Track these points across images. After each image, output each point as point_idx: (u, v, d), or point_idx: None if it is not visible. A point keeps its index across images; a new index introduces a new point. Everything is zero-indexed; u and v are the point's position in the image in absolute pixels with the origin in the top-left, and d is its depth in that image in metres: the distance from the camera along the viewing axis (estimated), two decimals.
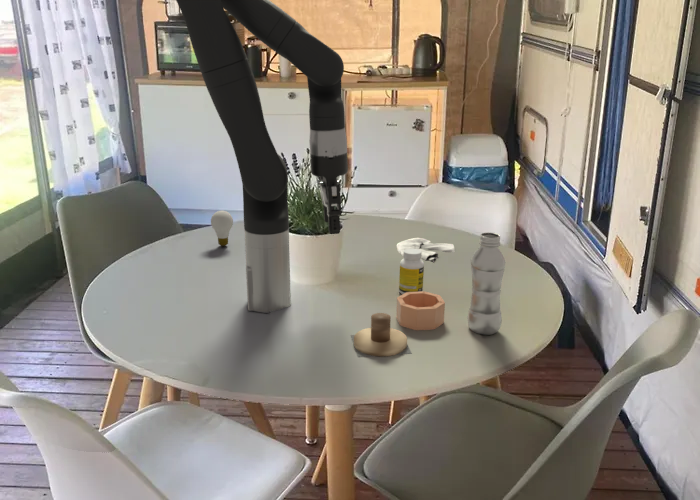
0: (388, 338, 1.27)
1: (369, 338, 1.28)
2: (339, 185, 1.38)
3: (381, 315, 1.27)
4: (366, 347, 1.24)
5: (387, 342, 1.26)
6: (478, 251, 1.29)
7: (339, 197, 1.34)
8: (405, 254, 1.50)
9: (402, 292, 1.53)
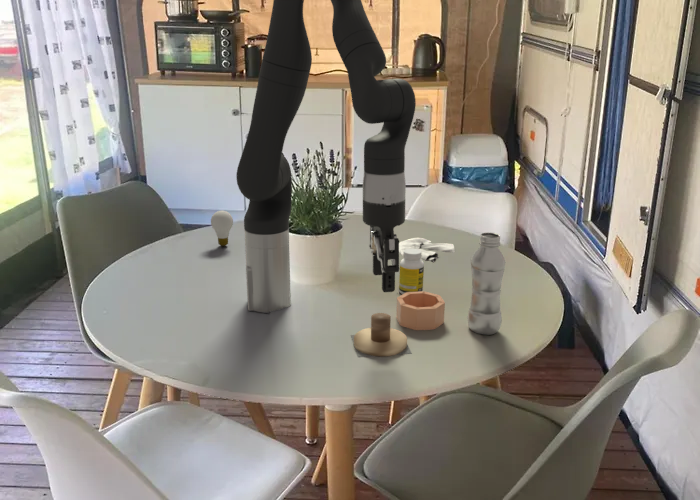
0: (388, 338, 1.27)
1: (369, 338, 1.28)
2: (395, 236, 1.20)
3: (381, 315, 1.27)
4: (366, 347, 1.24)
5: (387, 342, 1.26)
6: (478, 251, 1.29)
7: (397, 252, 1.15)
8: (405, 254, 1.50)
9: (402, 292, 1.53)
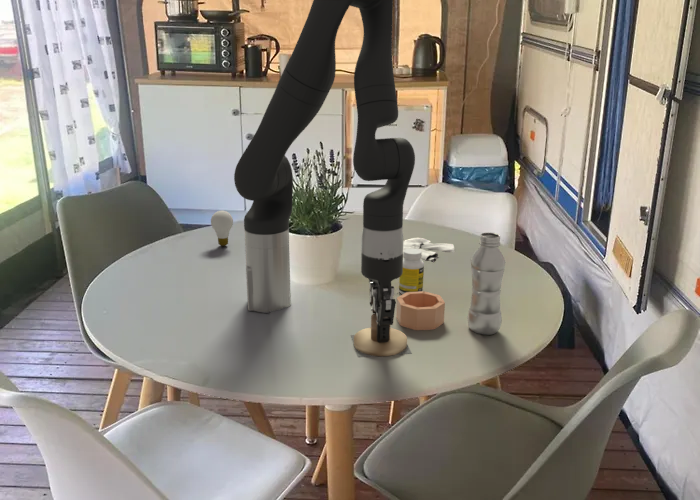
0: None
1: (369, 338, 1.28)
2: (392, 290, 1.23)
3: None
4: (366, 347, 1.24)
5: (387, 342, 1.26)
6: (478, 251, 1.29)
7: (393, 311, 1.20)
8: (405, 254, 1.50)
9: (402, 292, 1.53)
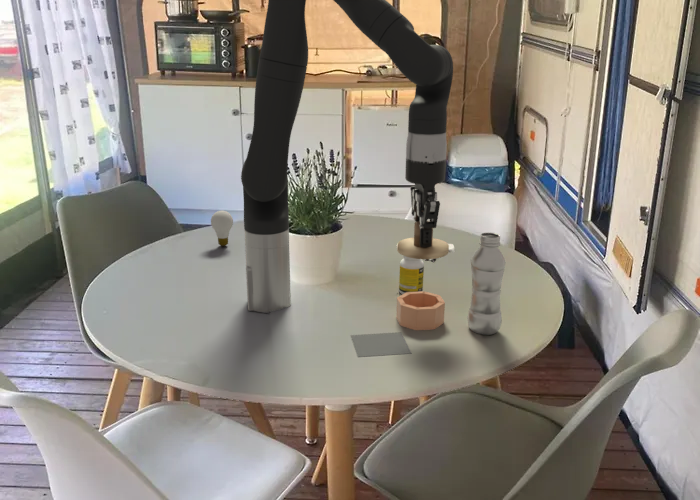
0: (431, 244, 1.32)
1: (412, 245, 1.33)
2: (435, 195, 1.28)
3: None
4: (410, 251, 1.30)
5: (430, 247, 1.31)
6: (478, 251, 1.29)
7: (437, 213, 1.25)
8: None
9: (402, 292, 1.53)
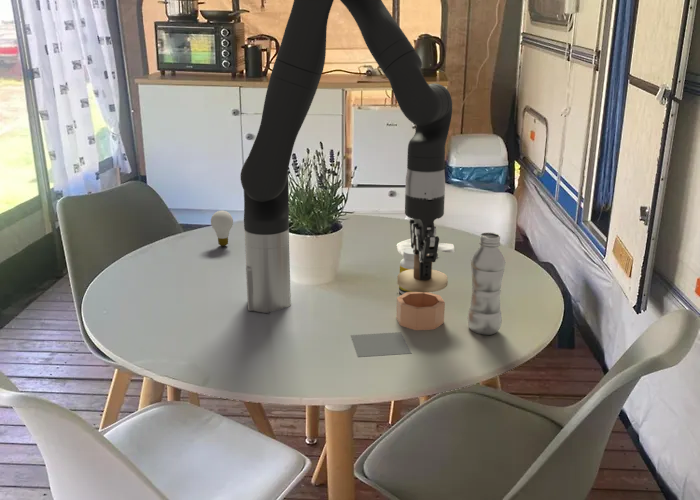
0: None
1: (412, 277, 1.36)
2: (434, 229, 1.31)
3: None
4: (410, 284, 1.32)
5: (429, 280, 1.34)
6: (478, 251, 1.29)
7: (436, 248, 1.28)
8: (405, 254, 1.50)
9: (402, 292, 1.53)
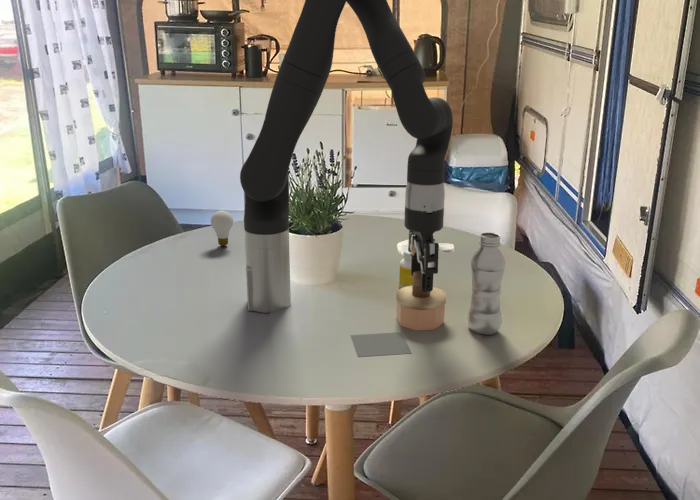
0: (429, 294, 1.36)
1: (410, 294, 1.37)
2: (434, 240, 1.31)
3: None
4: (409, 301, 1.33)
5: (428, 297, 1.35)
6: (478, 251, 1.29)
7: (437, 255, 1.27)
8: (405, 254, 1.50)
9: None
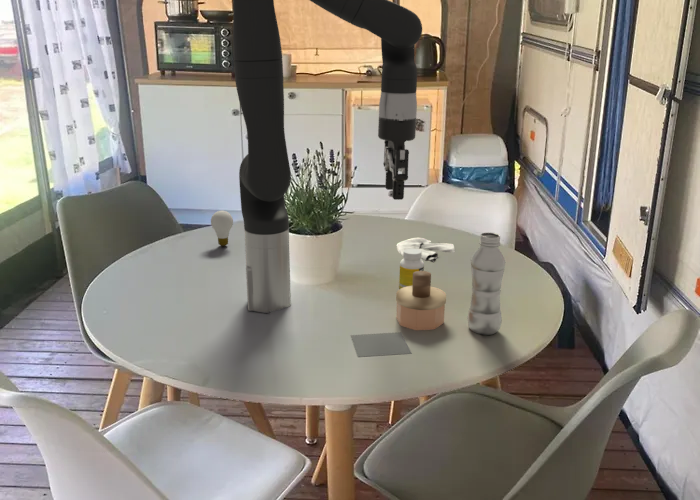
0: (429, 294, 1.36)
1: (410, 294, 1.37)
2: None
3: (422, 273, 1.36)
4: (409, 301, 1.33)
5: (428, 297, 1.35)
6: (478, 251, 1.29)
7: (407, 161, 1.32)
8: (405, 254, 1.50)
9: None
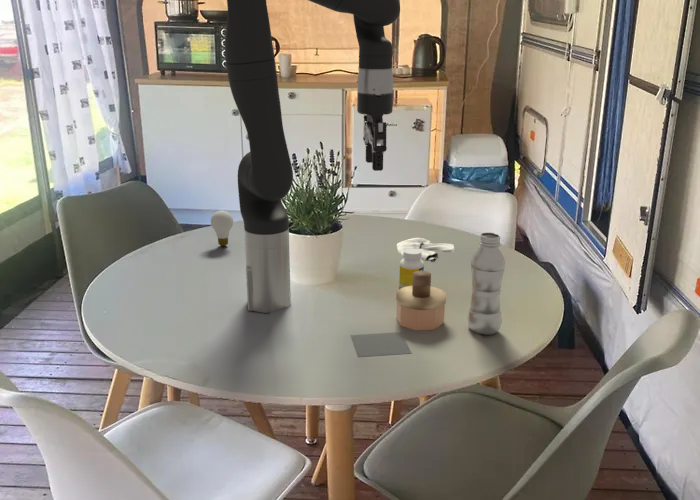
0: (429, 294, 1.36)
1: (410, 294, 1.37)
2: None
3: (422, 273, 1.36)
4: (409, 301, 1.33)
5: (428, 297, 1.35)
6: (478, 251, 1.29)
7: (385, 133, 1.40)
8: (405, 254, 1.50)
9: None
